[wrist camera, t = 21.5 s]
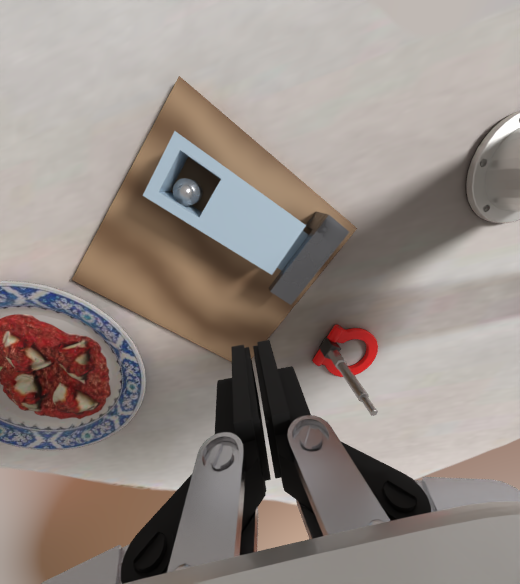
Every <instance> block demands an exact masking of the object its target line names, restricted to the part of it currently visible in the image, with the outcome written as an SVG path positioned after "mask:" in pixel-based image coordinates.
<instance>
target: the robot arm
mask: <svg viewBox="0 0 520 584" xmlns="http://www.w3.org/2000/svg"><path fill="white" fill-rule="evenodd" d="M467 196H468V201H469V203H470V206H471V208H472V209H473V211H474V212H475V213H476V214H477V215H478V216H479V217H481V218H482V219H484V220H487V221H489V222H496V223H510V222H514V221H518V220H520V111H518V112H516V113H514V114H511V115H510V116H508V117H507V118H505V119H503V120H502V121H501V122H500V123H498V124H497V125H496V126H495V127H494V128H493V129H492V130H491V131H490V132H489V133H488V134H487V136H486V137H485V138H484V139H483V141H482V142H481V144H480V145H479V147H478V148H477V150H476V152H475V154H474V157H473V159H472V161H471V164H470V167H469V170H468V176H467ZM231 350H232V378H229V379H224V380H218V383H217V400H216V421H215V435H213V436H211V437H210V438H209V439H207V440H206V441H205V442H204V444H203V445H202V446H201V447H200V450H199V452H198V455H197V459H196V462H195V466H194V470H193V474H192V475H191V476H190V477H189V478H188V479H187V480H186V481H185V482H184V483H183V485H182V486H181V487H180V488H179V489H178V490H177V491H176V492H175V493H174V494H173V496H172V497H171V498H170V499H169V500H168V501H167V502H166V503H165V504H164V505H163V506H162V508H161V509H160V510H159V511H158V512H157V513H156V514H155V515H154V516H153V518H151V520H150V521H149V522H148V523H147V524H146V525H145V526H144V527H143V528H142V529H141V531H140V532H139V533H138V534H137V535H136V536H135V538H134V539H133V541H132V542H131V543H130V544H129V545H127V546H125V547H123V548H122V547H121V546H120V545H118V546H116V547H114V548H112V549H110V550H108V551H106V552H104V553H102V554H100V555H98V556H96V557H94V558H92V559H89V560H88V561H85V562H83V563H81V564H79V565H77V566H75V567H73V568H71V569H69V570H67V571H65V572H63V573H61V574H59V575H57V576H55V577H53V578H51V579H49V580H47V581H45V582H43V583H41V584H520V491H519V490H518V489H516V488H515V487H513V486H511V485H509V484H506V483H504V482H501V481H496V480H489V479H462V478H437V477H423V479H422V481H418V480H413V479H412V478H410V477H409V476H407V475H405V474H404V473H402V472H400V471H398V470H396V469H394V468H392V467H390V466H388V465H386V464H384V463H382V462H380V461H378V460H376V459H374V458H372V457H370V456H368V455H366V454H364V453H362V452H360V451H358V450H356V449H354V448H352V447H350V446H348V445H347V444H345V443H343V442H341V441H340V440H339V439H338V437H337V435H336V434H335V432H334V431H333V429H332V427H331V426H330V425H329V424H328V423H327V422H326V421H325V420H323V419H322V418H320V417H317V416H312V415H311V414H310V412H309V409H308V406H307V403H306V401H305V398H304V395H303V393H302V390H301V387H300V385H299V382H298V379H297V377H296V374H295V371H294V369H293V367H286V368H281V369H277V366H276V362H275V359H274V355H273V352H272V348H271V345H270V341H269V340H266V341H260V342H257V346H253V350H254V356H255V362H256V368H257V374H258V380H259V386H260V392H261V398H262V404H263V410H264V416H265V422H266V428H267V433H268V439H269V445H270V450H271V456H272V462H273V467H274V473H275V478H280V477H281V478H282V483H283V488H284V491H285V492H287V493H288V494H290V495H291V496H292V497H294V498H295V499H296V501H297V506H298V508H299V511H300V514H301V517H302V519H303V522H304V525H305V527H306V530H307V533H308V535H309V540H305V541H301V542H296V543H292V544H288V545H283V546H279V547H275V548H271V549H266V550H262V551H258V552H257V536H258V506H259V504H260V503H261V501H262V499H263V498H264V496H265V492H266V486H265V481H266V480H271V479H270V472H269V465H268V459H267V452H266V445H265V439H264V432H263V425H262V419H261V412H260V406H259V399H258V393H257V388H256V382H255V377H254V371H253V366H252V360H251V355H250V349H249V347H246V348H244V345H238V346H233V347H231Z"/></svg>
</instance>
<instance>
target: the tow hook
mask: <svg viewBox="0 0 520 584" xmlns="http://www.w3.org/2000/svg"><path fill="white" fill-rule="evenodd" d="M352 339H359V340H363V341H364V342H365V343H366V353H365V355H364V357H363V358H362V359H361V360H360V361H359V362H358V363H356V364H354V365H352V366H347V363H346V361H345V360H344V359H343V357H342V356H341V354H340V353H339V351H340V350H341V348H340V347H339V345H338V344H337V343H336V342H338V343H341V344H342V343H344V342H346V341H349V340H352ZM377 351H378V345H377V341H376V339H375V337H374V336H373V335H372V334H371V333H369V332H368V331H367V330H364V329H361V328H352V329H347V330H345V329H343V328H342V327H341V326H339V325H337V324H335V325H334V327H333V328H332V330H331V332H330V333H329V335H328V336H327V337H326V338H325V340H324V341H323V343H322V344H321V346H320V348H319V350H318V352H317V354H316V355H315V357H314V358H313V360H312V361H313V363H314V364H316V365H318V366H320V365H321V364H322V365H325V366H326V368H327V369H328V370H329V372H330V373H332V374H334V375H335V376H339V377H344V378H345V380H346V381H347V383H348V384H349V386H350V387H351V389H352V390H353V392H354V393H355V395H356V396H357V398H358V400H359V401H361V402H363V404H364V405H365V407H366V408H367V410H368V411H369V413H370V414H371V415H373V416H374V415H376V414H377V412H378V411H377V410H376V408H375V407H374V405H373V404H372V403H371V401H370V400H369V398H368V397H369V396H368V394H367V392H366V391H365V390H364V388H363V387H362V385H361V384H360V383H359V381H358V380H357V378H356V377H355V376H354V375H356V374H359V373H361V372H362V371H364V370H365V369H367V368H368V367H369V366H370V365H371V364H372V362H373V361H374V359H375V357H376V355H377Z"/></svg>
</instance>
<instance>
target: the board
mask: <svg viewBox="0 0 520 584" xmlns="http://www.w3.org/2000/svg"><path fill="white" fill-rule="evenodd" d="M174 131H176V132H177V133H178V134H180V135H181V136H183V137H184V138H185V139H187V140H188V141H190V142H191V143H192V144H194V145H195V146H197V147H198V148H199V149H201V150H202V151H203V152H205V153H206V154H208V155H209V156H210V157H212V158H213V159H215V160H216V161H217V162H219V163H220V164H222V165H223V166H224V167H226V168H227V169H229V170H230V171H231V172H233V173H234V174H235V175H237V176H238V177H240V178H241V179H242V180H244V181H245V182H247V183H248V184H249V185H251V186H252V187H254V188H255V189H256V190H258V191H259V192H260V193H262V194H263V195H265V196H266V197H267V198H269V199H270V200H272V201H273V202H274V203H276V204H277V205H279V206H280V207H281V208H283V209H284V210H286V211H287V212H288V213H290V214H291V215H292V216H294V217H295V218H297V219H298V220H299V221H301V222H302V223H304V224H305V225H306V224H307V222H308V221H309V220H310V218H311V217H312V216H313V214H314V213H315V212H316V211H317V212H321V213H325V214H328V215H330V216H331V217H332V218H334V219H335V220H336V221H337V222H338V223H340V224H341V225H342V226H343V227H344V228H346V229H347V230H348V231H349V234H348V235H347V236H346V237H345V239H344V240H343V241H342V242H341V243H340V245H339V246H338V247H337V248H336V250H335V251H334V252H333V253H332V255H331V256H330V257H329V258H328V260H327V261H326V262H325V263H324V265H323V266H322V267H321V268H320V270H319V271H318V272H317V273H316V275H315V276H314V277H313V278H312V280H311V281H310V282H309V283H308V285H307V286H306V287H305V288H304V290H303V291H302V292H301V293H300V295H299V296H298V297H297V298H296V299H295V301H294V302H293V303H292V304H291V305H290V304H289V303H287V302H285V301H284V300H282V299H281V298H279V297H278V296H276V295H275V294H273V293H272V292H270V290H269V286H270V285H271V284H272V282H273V281H274V280H275V279H276V277H277V276H278V275H279V273H280V272H281V270H280V269H278V268H276V270H275V271H274V273H273V274H272V275H271V274H269V273H268V272H266V271H265V270H263V269H261V268H260V267H258V266H256V265H255V264H253V263H252V262H250V261H248V260H247V259H245V258H243V257H242V256H240V255H239V254H237V253H235V252H234V251H232V250H230V249H229V248H227V247H226V246H224V245H222V244H221V243H219V242H217V241H216V240H214V239H212V238H211V237H209V236H208V235H206V234H204V233H203V232H201V231H199V230H198V229H196V228H195V227H193V226H191V225H190V224H188V223H186V222H185V221H183V220H182V219H180V218H178V217H177V216H175V215H173V214H172V213H170V212H169V211H167V210H165V209H164V208H162V207H160V206H159V205H157V204H156V203H154V202H152V201H151V200H149V199H147V198H146V197H144V196H143V194H144V192H145V190H146V188H147V186H148V184H149V182H150V180H151V178H152V176H153V174H154V172H155V170H156V168H157V166H158V164H159V162H160V159H161V157H162V155H163V153H164V151H165V149H166V147H167V145H168V143H169V141H170V139H171V137H172V135H173V133H174ZM182 178H187V179H191V180H195V181H196V182H198V183H199V184H200V185H201V187H202V191H203V195H202V198H201V200H200V201H199V202H197V203H195V204H193V205H192V206H193V207H195V208H196V209H198V210H199V211H201V212H203V210H204V208H205V207H206V205H207V203H208V201H209V200H210V198H211V196H212V194H213V193H214V191H215V189H216V187H217V186H218V184H219V182H220V180H221V179H219V178H218V177H217V176H215V175H214V174H212V173H211V172H209V171H208V170H207V169H205V168H204V167H202V166H201V165H199V164H198V163H197V162H195V161H194V160H192V159H191V158H189V157H188V158H187V160H186V162H185V164H184V166H183V168H182V170H181V171H180V173H179V175H178V177H177V179H176V181H175V183H176V182H177V181H178V180H179V179H182ZM175 183H174V184H175ZM173 186H174V185H173ZM170 192H171V193H173V187H172V189H171V191H170ZM356 229H357V228H356V227H355V226H354V225H353V224H351V223H350V222H349V221H348V220H347V219H346V218H344V217H343V216H342V215H341V214H340V213H339V212H337V211H336V210H335V209H334V208H333V207H332V206H330V205H329V204H328V203H327V202H326V201H325V200H323V199H322V198H321V197H320V196H319V195H318V194H316V193H315V192H314V191H313V190H312V189H311V188H309V187H308V186H307V185H306V184H305V183H304V182H302V181H301V180H300V179H299V178H298V177H297V176H295V175H294V174H293V173H292V172H291V171H290V170H288V169H287V168H286V167H285V166H284V165H283V164H281V163H280V162H279V161H278V160H277V159H276V158H274V157H273V156H272V155H271V154H270V153H269V152H267V151H266V150H265V149H264V148H263V147H262V146H260V145H259V144H258V143H257V142H256V141H254V140H253V139H252V138H251V137H250V136H249V135H247V134H246V133H245V132H244V131H243V130H242V129H240V128H239V127H238V126H237V125H236V124H235V123H233V122H232V121H231V120H230V119H229V118H228V117H226V116H225V115H224V114H223V113H222V112H221V111H219V110H218V109H217V108H216V107H215V106H214V105H212V104H211V103H210V102H209V101H208V100H207V99H205V98H204V97H203V96H202V95H201V94H200V93H198V92H197V91H196V90H195V89H194V88H193V87H191V86H190V85H189V84H188V83H187V82H186V81H184V80H183V79H182V78H181V77H180V76H179V77H178V79H177V81H176V83H175V85H174V87H173V89H172V91H171V93H170V95H169V96H168V98H167V100H166V102H165V104H164V106H163V108H162V110H161V112H160V113H159V115H158V117H157V119H156V121H155V123H154V125H153V127H152V129H151V131H150V132H149V134H148V136H147V138H146V140H145V142H144V144H143V146H142V148H141V150H140V151H139V153H138V155H137V157H136V159H135V161H134V163H133V165H132V167H131V168H130V170H129V172H128V174H127V176H126V178H125V180H124V182H123V184H122V186H121V187H120V189H119V191H118V193H117V195H116V197H115V199H114V201H113V203H112V204H111V206H110V208H109V210H108V212H107V214H106V216H105V218H104V220H103V222H102V223H101V225H100V227H99V229H98V231H97V233H96V235H95V237H94V239H93V240H92V242H91V244H90V246H89V248H88V250H87V252H86V254H85V256H84V258H83V259H82V261H81V263H80V265H79V267H78V269H77V271H76V273H75V275H74V276H73V278H72V280H73V281H75V282H77V283H79V284H81V285H82V286H84V287H86V288H88V289H90V290H92V291H94V292H96V293H98V294H100V295H102V296H104V297H106V298H108V299H110V300H112V301H114V302H116V303H118V304H119V305H121V306H123V307H125V308H127V309H129V310H131V311H133V312H135V313H137V314H139V315H141V316H143V317H145V318H147V319H149V320H151V321H153V322H154V323H156V324H158V325H160V326H162V327H164V328H166V329H168V330H170V331H172V332H174V333H176V334H178V335H180V336H182V337H184V338H186V339H188V340H190V341H191V342H193V343H195V344H197V345H199V346H201V347H203V348H205V349H207V350H209V351H211V352H213V353H215V354H217V355H219V356H221V357H223V358H225V359H226V360H228V361H230V362H232V350H231V347H233V346H238V345H244V348H246V347H249V349H250V355H251V359H252V358H253V357H254V350H253V346H257V342H260V341H266V340H267V339H268V338H269V337H270V336H271V334H272V333H273V332H274V331H275V329H276V328H277V327H278V326H279V324H280V323H281V322H282V321H283V320H284V318H285V317H286V316H287V315H288V313H289V312H290V311H291V310H292V308H293V307H294V306H295V305H296V303H297V302H298V301H299V300H300V299H301V297H302V296H303V295H304V294H305V292H306V291H307V290H308V289H309V287H310V286H311V285H312V284H313V282H314V281H315V280H316V279H317V277H318V276H319V275H320V274H321V273H322V271H323V270H324V269H325V268H326V266H327V265H328V264H329V263H330V261H331V260H332V259H333V258H334V256H335V255H336V254H337V253H338V252H339V250H340V249H341V248H342V247H343V245H344V244H345V243H346V242H347V240H348V239H349V238H350V237H351V235H352V234H353V233H354V232H355V230H356ZM303 231H304V232H305V233H307V234H308V235H309V234H310V233H311V230H310V229H309V228H307V227H306V226H305V228H304V229H303Z"/></svg>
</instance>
